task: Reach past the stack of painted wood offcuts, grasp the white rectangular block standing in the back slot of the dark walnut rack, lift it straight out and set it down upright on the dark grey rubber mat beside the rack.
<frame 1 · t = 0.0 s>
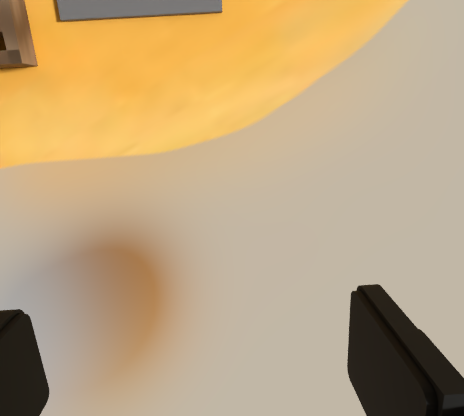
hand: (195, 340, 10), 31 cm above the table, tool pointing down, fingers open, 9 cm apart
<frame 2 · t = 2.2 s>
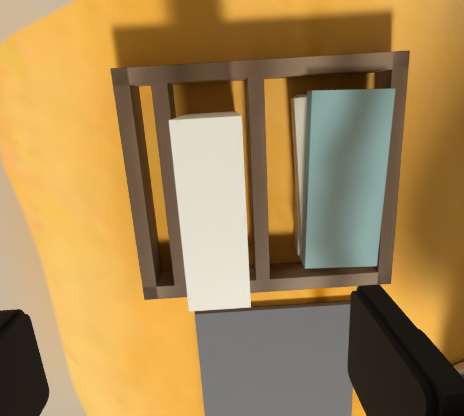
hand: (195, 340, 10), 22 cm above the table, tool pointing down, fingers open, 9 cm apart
rubber mat: (276, 371, 38), on the table
walnut rack: (260, 179, 31), on the table
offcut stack: (327, 174, 32), resting in walnut rack
white rectangular block: (216, 181, 32), resting in walnut rack
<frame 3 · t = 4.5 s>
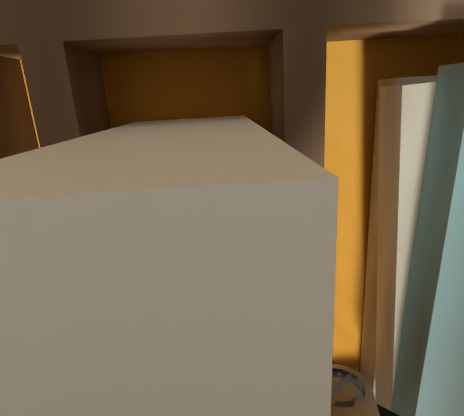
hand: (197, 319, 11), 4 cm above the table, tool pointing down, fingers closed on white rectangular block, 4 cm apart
walnut rack: (297, 258, 15), on the table
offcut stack: (436, 248, 15), resting in walnut rack
white rectangular block: (203, 263, 15), resting in walnut rack, touching gripper
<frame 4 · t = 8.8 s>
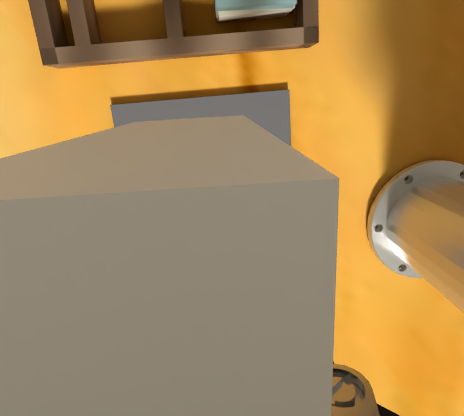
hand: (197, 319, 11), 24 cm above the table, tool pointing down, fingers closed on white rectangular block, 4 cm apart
rubber mat: (209, 182, 34), on the table
white rectangular block: (203, 264, 15), point 20 cm above the table, touching gripper
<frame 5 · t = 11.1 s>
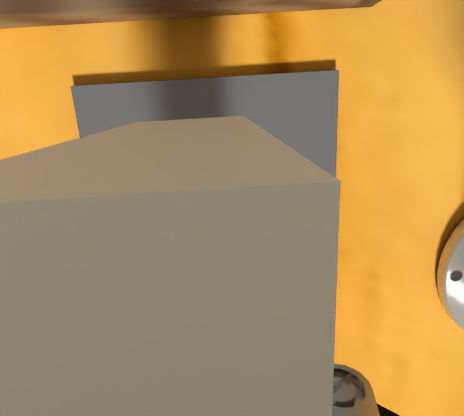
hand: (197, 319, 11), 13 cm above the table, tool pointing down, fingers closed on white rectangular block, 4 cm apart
rubber mat: (214, 203, 24), on the table
white rectangular block: (203, 264, 15), point 9 cm above the table, touching gripper
when the fingers open (5 cm above the table, at t = 12.9 s): white rectangular block stays where it is, resting on rubber mat.
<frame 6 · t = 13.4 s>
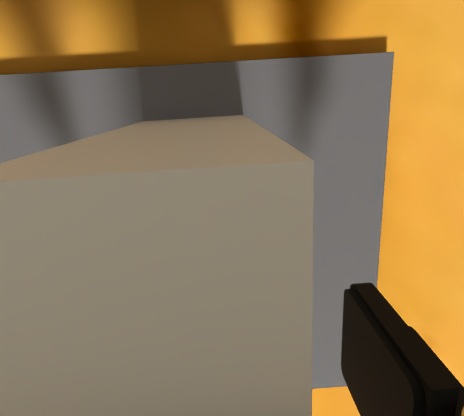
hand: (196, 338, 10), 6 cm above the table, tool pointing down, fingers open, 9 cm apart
rubber mat: (204, 249, 16), on the table
white rectangular block: (205, 254, 16), point 1 cm above the table, touching rubber mat
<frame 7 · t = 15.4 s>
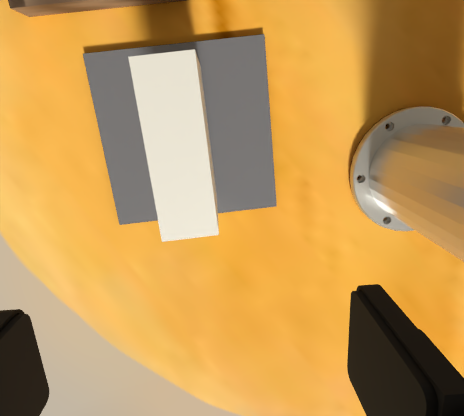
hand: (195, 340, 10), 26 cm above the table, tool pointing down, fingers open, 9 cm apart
rubber mat: (187, 135, 34), on the table
white rectangular block: (187, 135, 33), point 1 cm above the table, touching rubber mat
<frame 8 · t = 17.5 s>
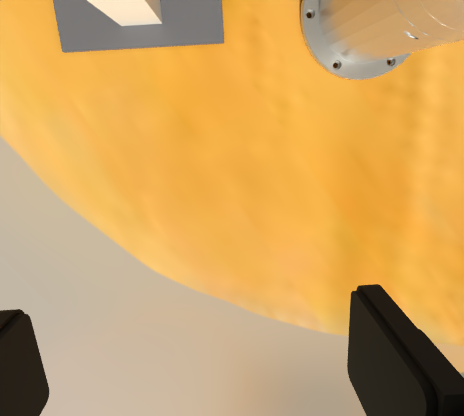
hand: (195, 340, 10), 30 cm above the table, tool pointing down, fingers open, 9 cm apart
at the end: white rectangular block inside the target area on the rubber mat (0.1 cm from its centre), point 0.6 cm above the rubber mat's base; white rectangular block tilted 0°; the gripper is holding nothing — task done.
